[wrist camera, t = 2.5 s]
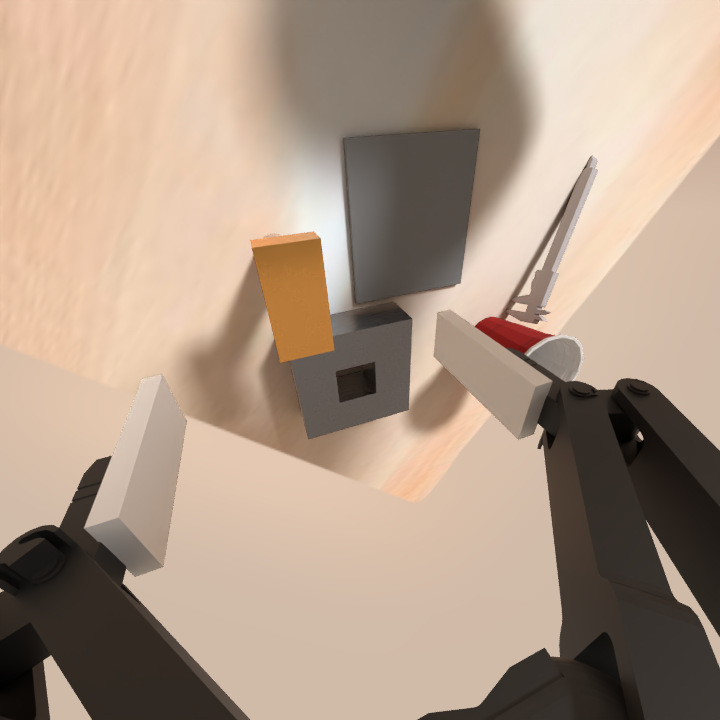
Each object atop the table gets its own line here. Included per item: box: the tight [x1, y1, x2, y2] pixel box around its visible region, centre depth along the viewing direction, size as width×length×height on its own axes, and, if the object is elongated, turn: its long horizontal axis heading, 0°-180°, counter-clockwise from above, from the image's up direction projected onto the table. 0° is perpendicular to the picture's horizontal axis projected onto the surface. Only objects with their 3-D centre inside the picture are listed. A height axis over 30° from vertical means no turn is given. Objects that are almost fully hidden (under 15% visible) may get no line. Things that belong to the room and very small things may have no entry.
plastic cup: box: [475, 317, 583, 382], centre depth 43 cm, size 11×11×12 cm
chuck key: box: [250, 232, 334, 363], centre depth 26 cm, size 8×4×14 cm, turn 5°
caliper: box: [507, 156, 598, 324], centre depth 40 cm, size 20×1×6 cm, turn 163°
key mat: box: [343, 129, 480, 304], centre depth 34 cm, size 16×14×1 cm
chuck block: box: [290, 302, 412, 439], centre depth 40 cm, size 14×14×5 cm
